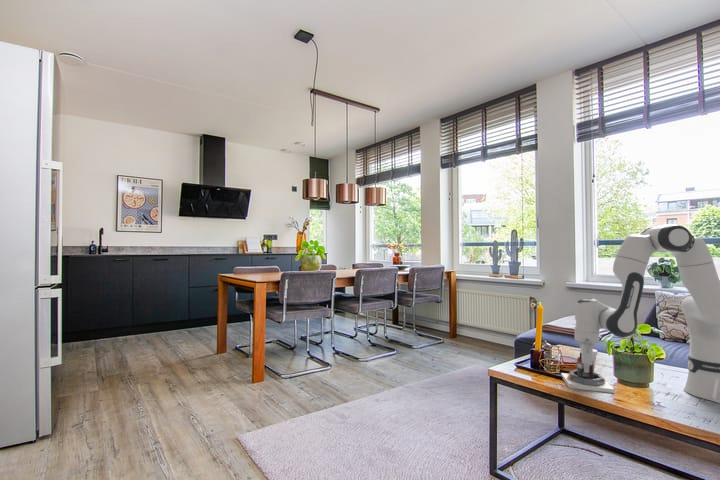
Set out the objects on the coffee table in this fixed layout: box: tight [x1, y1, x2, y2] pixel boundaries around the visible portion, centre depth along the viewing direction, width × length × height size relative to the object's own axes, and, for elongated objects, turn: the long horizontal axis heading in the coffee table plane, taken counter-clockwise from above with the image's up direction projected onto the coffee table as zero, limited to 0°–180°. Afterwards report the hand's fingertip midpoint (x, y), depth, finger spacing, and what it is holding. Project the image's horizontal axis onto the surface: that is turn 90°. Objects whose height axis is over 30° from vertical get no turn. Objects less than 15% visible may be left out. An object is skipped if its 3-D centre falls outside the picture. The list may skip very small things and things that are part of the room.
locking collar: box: [567, 369, 606, 386], centre depth 157 cm, size 14×12×2 cm
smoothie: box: [593, 348, 599, 369], centre depth 175 cm, size 6×6×14 cm
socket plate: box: [560, 372, 615, 394], centre depth 157 cm, size 16×14×2 cm
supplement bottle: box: [576, 351, 595, 379], centre depth 158 cm, size 6×6×11 cm
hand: (586, 369), depth 157 cm, fingers closed on supplement bottle, 6 cm apart
